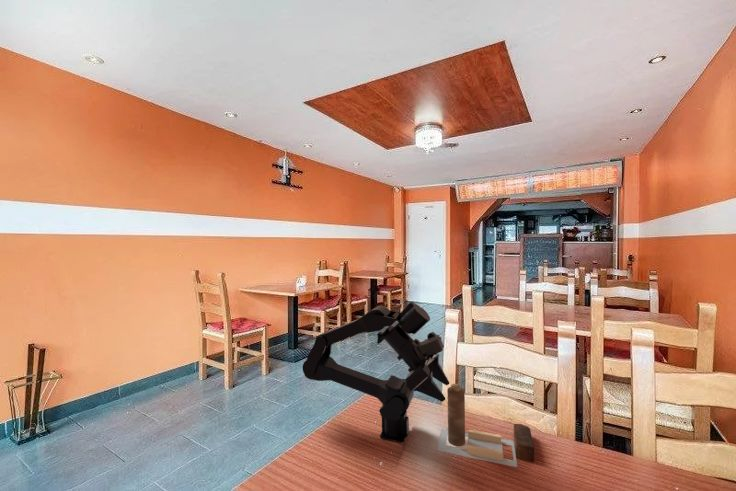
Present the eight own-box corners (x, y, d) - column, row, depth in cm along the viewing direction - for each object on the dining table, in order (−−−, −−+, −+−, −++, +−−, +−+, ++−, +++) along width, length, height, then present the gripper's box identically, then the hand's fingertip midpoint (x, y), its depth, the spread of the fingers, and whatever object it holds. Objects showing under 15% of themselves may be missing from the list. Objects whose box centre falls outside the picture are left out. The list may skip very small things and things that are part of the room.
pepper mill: (447, 444, 80) (446, 388, 80) (449, 434, 84) (448, 381, 84) (464, 447, 79) (464, 390, 79) (465, 437, 83) (464, 383, 83)
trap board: (436, 455, 78) (436, 443, 78) (441, 432, 88) (441, 422, 88) (517, 472, 72) (517, 460, 72) (513, 445, 82) (513, 434, 82)
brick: (534, 468, 74) (534, 447, 74) (515, 463, 75) (515, 443, 75) (529, 441, 84) (529, 423, 84) (513, 438, 85) (513, 420, 85)
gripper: (417, 335, 75) (467, 388, 72) (430, 317, 93) (470, 359, 89) (385, 364, 78) (432, 417, 74) (404, 341, 96) (442, 383, 92)
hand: (446, 391), depth 82 cm, fingers open, 9 cm apart
